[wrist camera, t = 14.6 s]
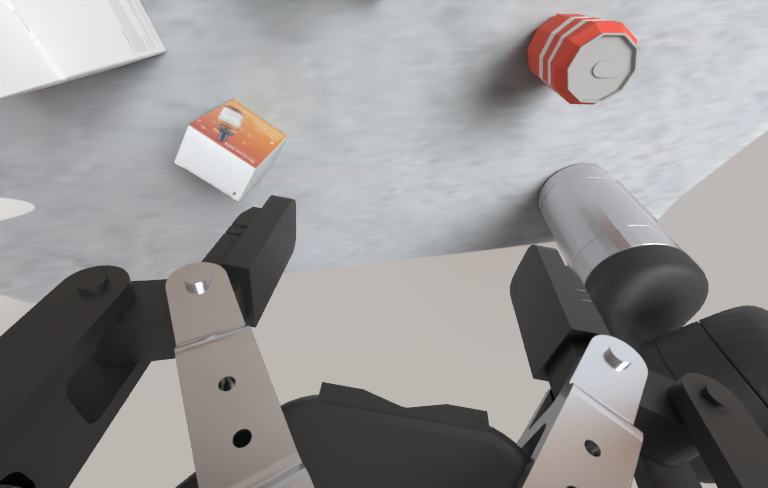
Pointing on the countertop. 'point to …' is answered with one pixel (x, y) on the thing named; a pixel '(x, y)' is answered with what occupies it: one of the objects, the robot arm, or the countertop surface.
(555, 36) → the beverage can
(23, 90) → the supplement box
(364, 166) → the countertop surface
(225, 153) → the small box
